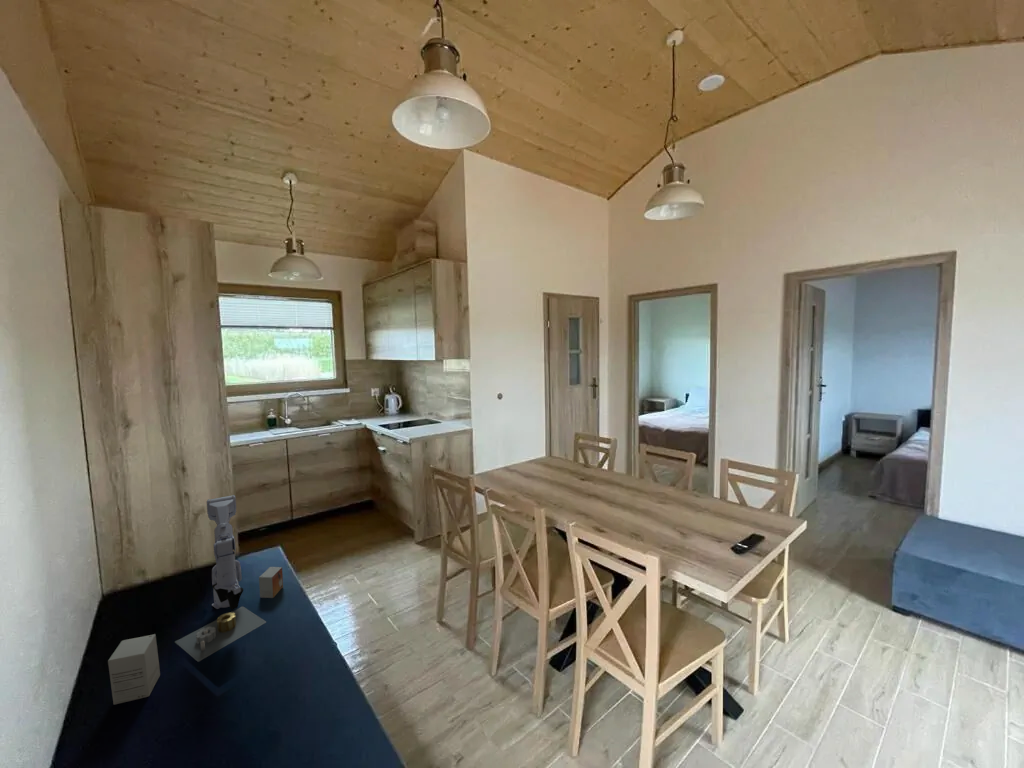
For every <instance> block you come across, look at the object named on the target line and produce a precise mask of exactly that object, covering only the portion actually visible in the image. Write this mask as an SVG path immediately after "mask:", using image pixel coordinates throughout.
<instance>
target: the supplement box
mask: <svg viewBox="0 0 1024 768" xmlns="http://www.w3.org/2000/svg"><path fill="white" fill-rule="evenodd" d="M157 644H158V643H157V636H156V633H154V634H150V635H143V636H140V637H134V638H129V639H128V638H127V639H123V640H121V641H120V643H119V644H118V646H117V647H116V649H115V650H114V652H113V653H112V654H111V656H110V657H109V659H108V660H107V665H108V671H109V672H108V673H109V679H110V681H109V682H110V688H111V696H112V701H113V702H112V703H113V705H118V704H123V703H126V702H131V701H132V702H133V701H135V700H136V701H137V700H140V699H143V698H147V697H150V695H151V694H152V691H153V690H154V687H155V685H156V684H157V682H158V680H159V678H160V676H161V671H160V670H161V669H160V662H159V653H158V652H159V651H158V645H157Z"/></svg>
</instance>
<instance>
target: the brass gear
mask: <svg viewBox="0 0 1024 768" xmlns="http://www.w3.org/2000/svg"><path fill="white" fill-rule="evenodd" d="M231 612H232V611H231ZM231 612H226V613H223V614H221V615H219V616H218V617H217V619H216V620H217V629H218V632H222V633H223V632H226V631H230V630H232V629H233V628H234V627H235V626H236V617H235V613H231ZM225 619H226V620H225Z"/></svg>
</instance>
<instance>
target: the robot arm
mask: <svg viewBox="0 0 1024 768" xmlns="http://www.w3.org/2000/svg"><path fill="white" fill-rule="evenodd" d="M206 513H207V517H208V519H209V520H210V521H214V522H215V523H216V524H215V525H216V526H215V528H214V531H213V532H214V534H213V535H214V543H213V555H214V559H215V563H216V564H215V565H214V566H213V567H212V569H211V583H212V589H213V590H212V591H213V602H214V603H212V604H211V606H212V607H214V608H215V609H216V610H218V609H220V608H228V607H229V608H230V611H234V610H236V609H238V607H239V603H240V598H241V596H242V594H243V593H244V588H243V587H241V586H240V585H239V582H241V581H242V579H243V577H242V567H241V562H240V560H237V559H236V552H237V551H236V539H235V536H234V531H233V530H234V529H233V525H232V524H230V520H231V518H233V517H234V516H235V515H236V513H237V498H236V495H234V494H232V495H227V496H222V497H215V498H209V499H207V501H206Z"/></svg>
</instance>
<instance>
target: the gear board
mask: <svg viewBox="0 0 1024 768" xmlns="http://www.w3.org/2000/svg"><path fill="white" fill-rule="evenodd" d="M231 613H235V617H236V626H235V627H234V628H233V629H232V630H230V631H226V632H223V633H222V632H218V629H217V619H215V620H214V621H211V622H210V623H208V624H206V625H204V626H203V627H200V628H198V629H197V630H195V631H193V632H191V633H188V634H186V635H185V636H182V637H181V638H180V639H177V640H175V641H174V643H175V644H176V645H177V646H179V647H180V648H181V649H182V650H183V651H184V652H186V653H187V654H188V655H189V656H190V657H192V658H193V659H194V660H195V661H197V663H199V662H201V661H202V660H204V659H206V658H207V657H210V656H211V655H213V654H214V653H216V652H218V651H220V650H221V649H223V648H225V647H226V646H229V645H230V644H232V643H234V642H235V641H237V640H238V639H240V638H242V637H243V636H246V635H247V634H249V633H251V632H253V631H254V630H256V629H258V628H259V627H261V626H263V625H265V624H266V623H267V621H266V620H264V619H263V618H262V617H260V616H259V615H257V614H255V613H253V612H252V611H251V610H249V608H246V607H244V606H243V605H242V606H240V607H239V608H238V607H237V608H235V609H234V610H232V611H231ZM225 620H226V619H225Z"/></svg>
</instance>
